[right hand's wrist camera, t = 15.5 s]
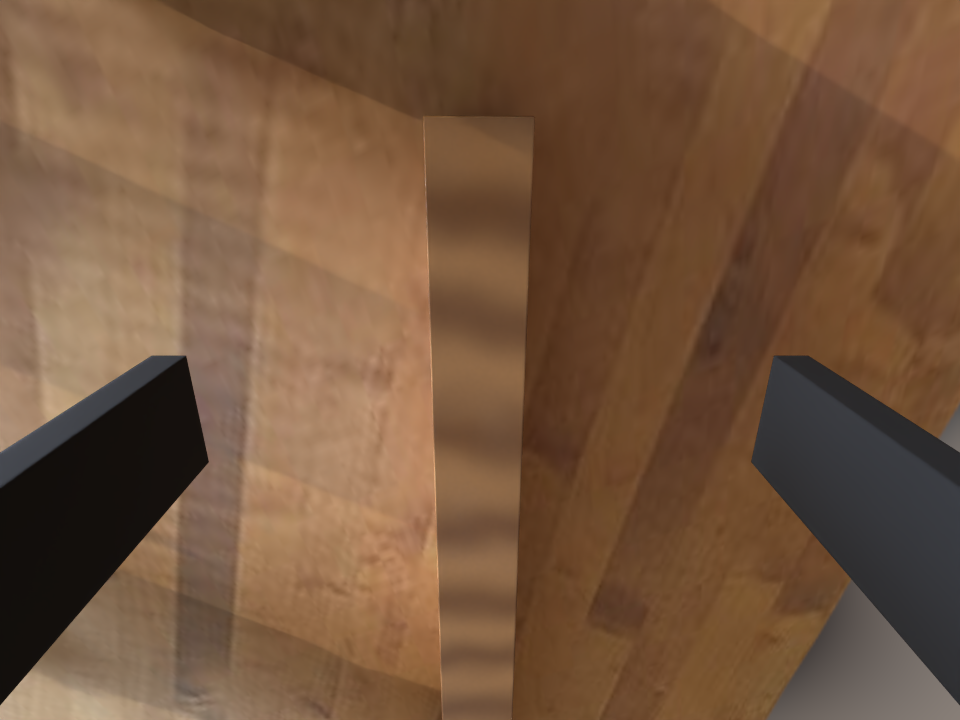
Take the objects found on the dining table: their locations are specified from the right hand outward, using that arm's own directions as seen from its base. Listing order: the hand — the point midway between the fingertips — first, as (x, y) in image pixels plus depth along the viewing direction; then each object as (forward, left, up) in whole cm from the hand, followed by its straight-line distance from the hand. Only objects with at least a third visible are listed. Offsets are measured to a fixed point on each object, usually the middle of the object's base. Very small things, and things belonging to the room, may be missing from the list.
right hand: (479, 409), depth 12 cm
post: (+11, -19, -24) cm, 33 cm away
